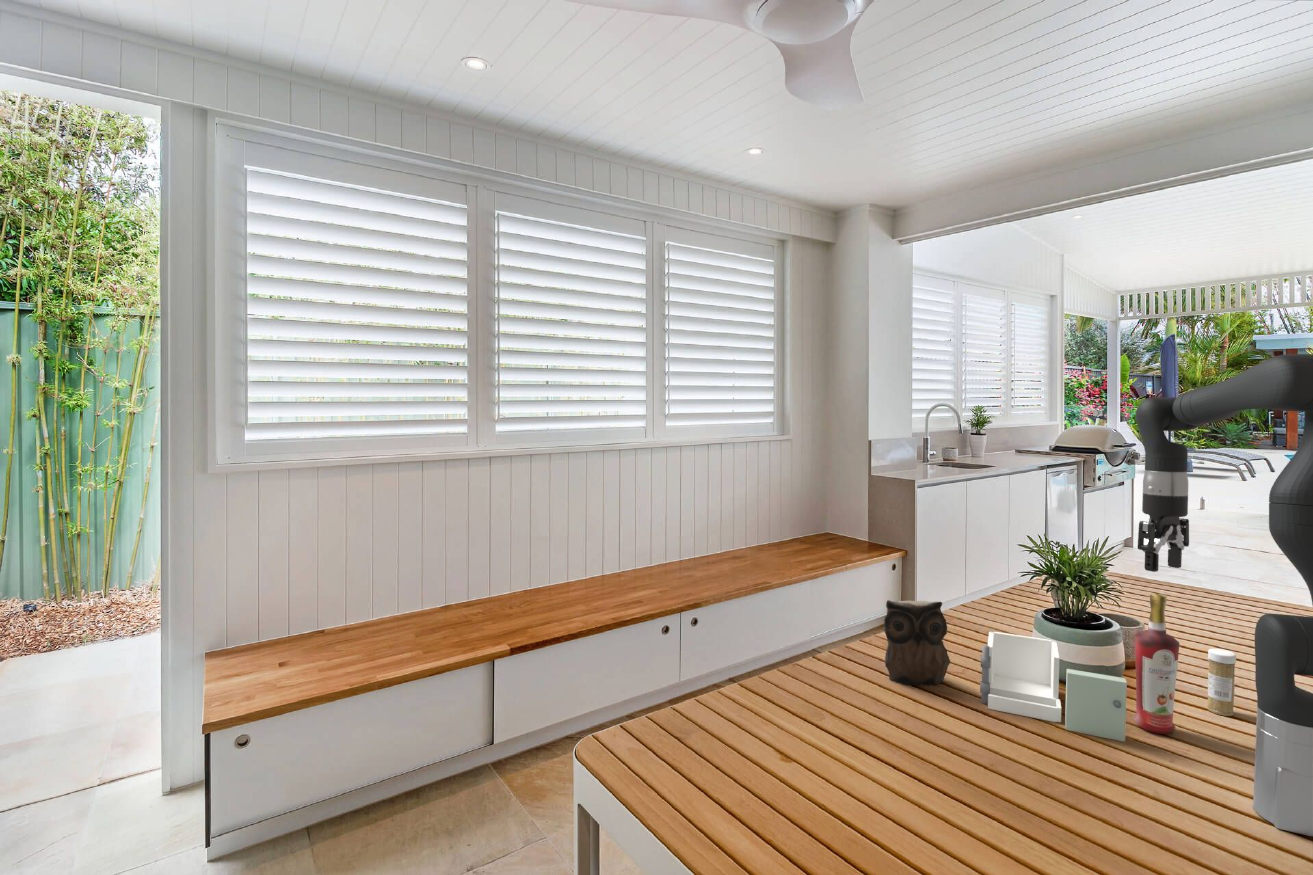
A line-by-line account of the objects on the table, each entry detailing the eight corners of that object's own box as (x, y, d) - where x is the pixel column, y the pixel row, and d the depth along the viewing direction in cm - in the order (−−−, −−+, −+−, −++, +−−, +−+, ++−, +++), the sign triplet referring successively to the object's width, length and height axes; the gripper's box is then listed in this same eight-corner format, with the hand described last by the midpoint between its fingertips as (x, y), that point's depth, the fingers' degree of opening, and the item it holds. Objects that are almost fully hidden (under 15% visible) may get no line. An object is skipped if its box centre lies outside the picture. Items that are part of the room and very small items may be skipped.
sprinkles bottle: (1237, 713, 141) (1239, 652, 140) (1229, 718, 138) (1232, 657, 137) (1210, 705, 144) (1212, 646, 144) (1202, 710, 142) (1205, 650, 141)
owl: (952, 682, 157) (953, 601, 156) (918, 694, 150) (919, 610, 149) (907, 665, 167) (908, 588, 166) (874, 675, 161) (875, 596, 160)
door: (1125, 743, 128) (1127, 684, 127) (1066, 731, 133) (1067, 674, 132) (1123, 736, 131) (1124, 678, 131) (1065, 724, 136) (1066, 668, 135)
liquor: (1165, 722, 137) (1170, 591, 135) (1183, 739, 130) (1188, 602, 128) (1125, 717, 139) (1129, 589, 137) (1141, 734, 132) (1145, 599, 130)
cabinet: (1061, 723, 136) (1062, 662, 136) (979, 706, 144) (980, 649, 143) (1056, 691, 152) (1057, 636, 151) (982, 677, 159) (983, 625, 159)
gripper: (1166, 496, 129) (1164, 576, 129) (1204, 492, 135) (1202, 569, 136) (1125, 492, 136) (1123, 568, 136) (1164, 489, 142) (1162, 562, 142)
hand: (1163, 569), depth 136 cm, fingers open, 8 cm apart
